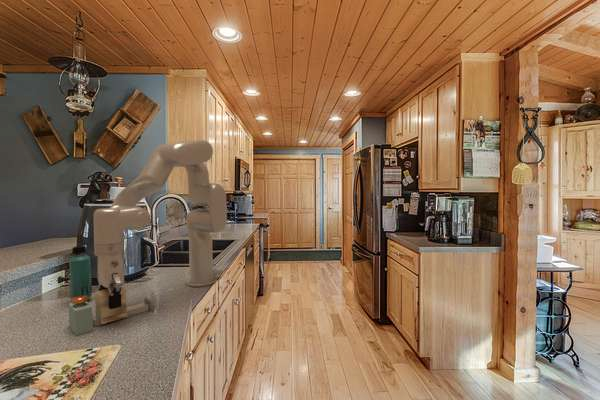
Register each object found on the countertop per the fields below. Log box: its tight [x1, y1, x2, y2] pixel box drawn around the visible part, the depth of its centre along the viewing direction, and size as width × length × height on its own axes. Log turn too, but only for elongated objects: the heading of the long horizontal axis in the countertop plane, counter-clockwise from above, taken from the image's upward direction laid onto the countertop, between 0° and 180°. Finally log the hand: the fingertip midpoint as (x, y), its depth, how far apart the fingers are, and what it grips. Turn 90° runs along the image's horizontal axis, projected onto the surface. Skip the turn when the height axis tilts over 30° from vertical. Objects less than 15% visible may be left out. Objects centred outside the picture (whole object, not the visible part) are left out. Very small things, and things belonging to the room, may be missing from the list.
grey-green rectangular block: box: [68, 301, 94, 337], centre depth 88 cm, size 4×8×7 cm, turn 48°
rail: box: [92, 297, 153, 328], centre depth 96 cm, size 16×4×3 cm, turn 138°
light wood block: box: [94, 286, 128, 326], centre depth 94 cm, size 7×5×9 cm
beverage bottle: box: [68, 245, 93, 301], centre depth 108 cm, size 6×7×20 cm
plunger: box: [71, 295, 89, 308], centre depth 88 cm, size 4×4×6 cm
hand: (109, 303), depth 93 cm, fingers open, 9 cm apart
